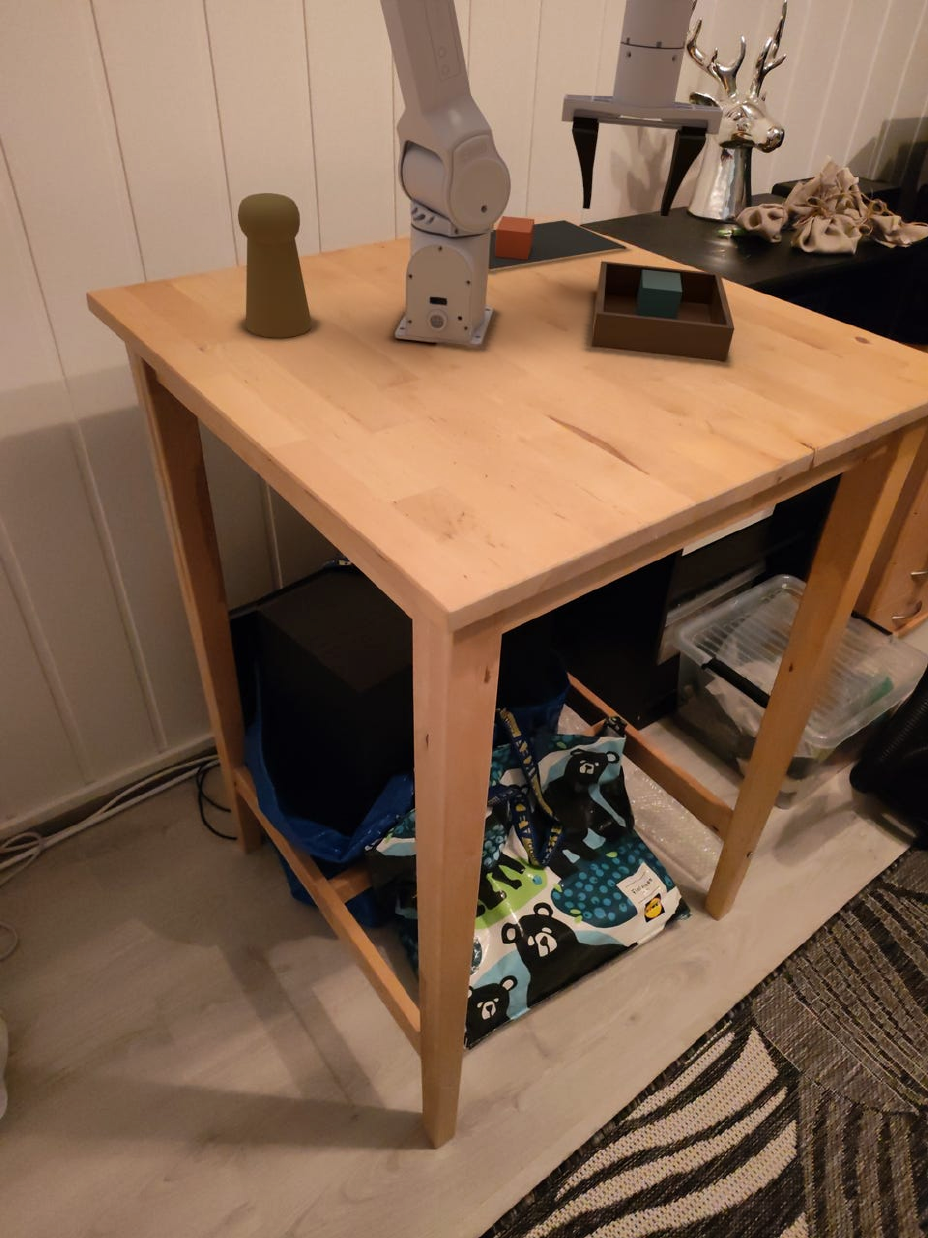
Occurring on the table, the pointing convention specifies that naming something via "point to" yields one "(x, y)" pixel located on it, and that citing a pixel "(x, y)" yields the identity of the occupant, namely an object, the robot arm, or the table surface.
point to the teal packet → (659, 294)
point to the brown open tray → (691, 335)
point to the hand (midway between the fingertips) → (625, 209)
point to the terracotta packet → (514, 238)
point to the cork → (273, 267)
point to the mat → (555, 244)
